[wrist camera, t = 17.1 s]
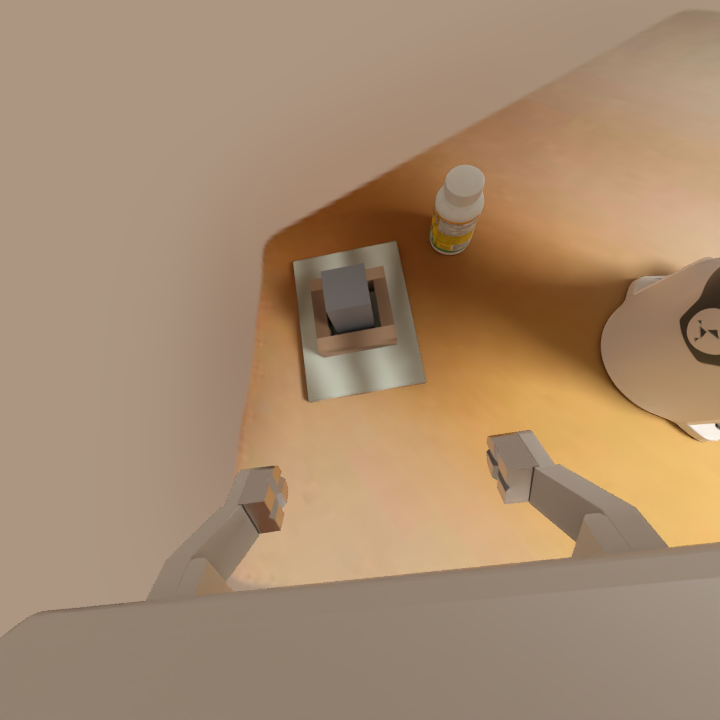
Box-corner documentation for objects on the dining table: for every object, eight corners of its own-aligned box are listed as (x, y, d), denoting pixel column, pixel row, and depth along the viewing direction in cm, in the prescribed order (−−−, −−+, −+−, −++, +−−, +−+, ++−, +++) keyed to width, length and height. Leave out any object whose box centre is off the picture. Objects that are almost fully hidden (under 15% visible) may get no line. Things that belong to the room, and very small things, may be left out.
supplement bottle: (460, 262, 40) (479, 209, 31) (421, 247, 41) (429, 192, 32) (476, 228, 41) (500, 168, 32) (438, 215, 42) (451, 153, 33)
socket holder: (396, 245, 42) (396, 225, 38) (425, 383, 37) (429, 376, 33) (295, 265, 43) (285, 248, 39) (310, 402, 38) (301, 398, 34)
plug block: (369, 297, 39) (363, 262, 32) (375, 330, 38) (370, 303, 30) (335, 303, 40) (320, 271, 32) (339, 337, 38) (325, 311, 31)
